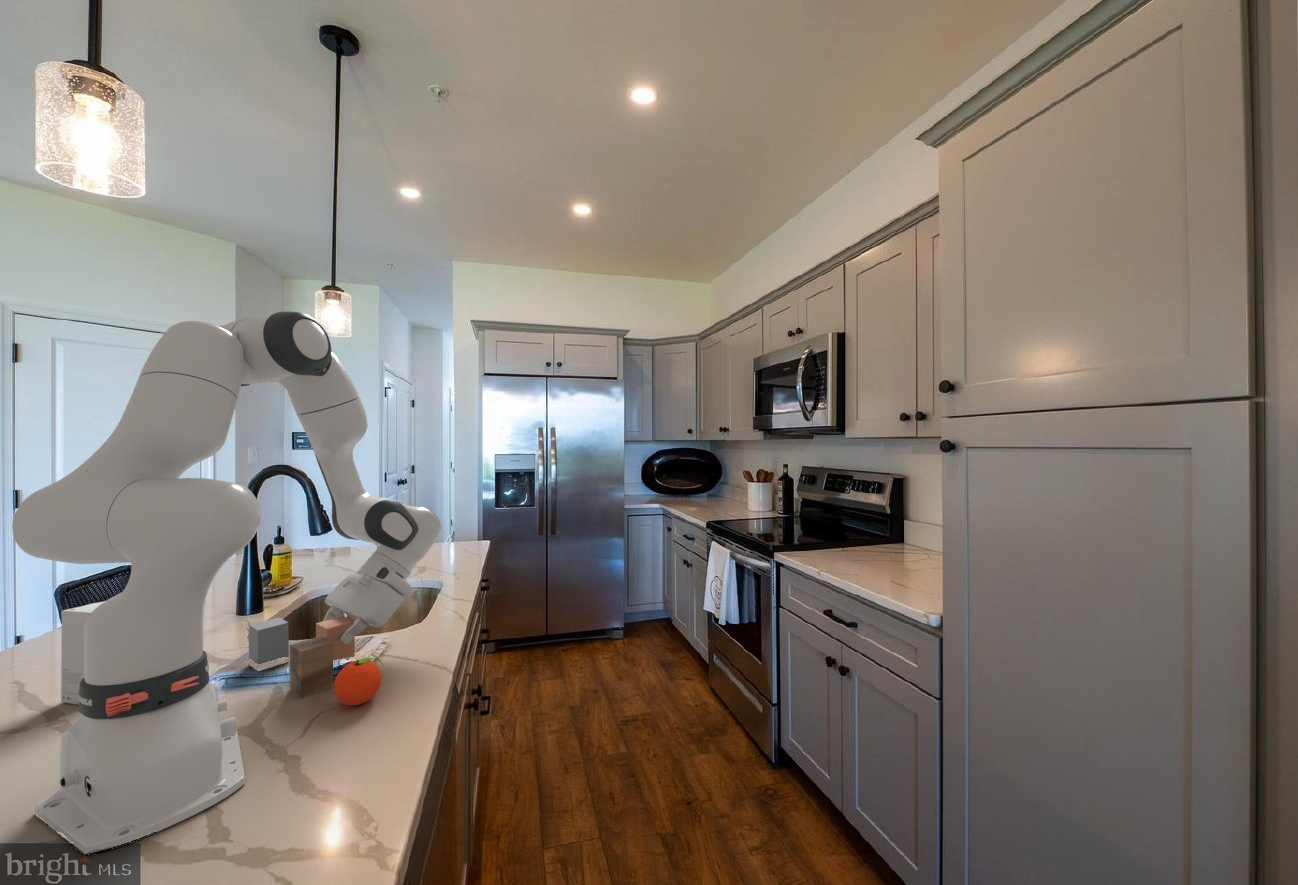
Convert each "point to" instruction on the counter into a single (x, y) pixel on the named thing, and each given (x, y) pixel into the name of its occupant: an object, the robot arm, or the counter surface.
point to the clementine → (357, 682)
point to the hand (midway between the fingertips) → (331, 636)
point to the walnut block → (311, 666)
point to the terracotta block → (337, 636)
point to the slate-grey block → (268, 640)
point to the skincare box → (73, 650)
